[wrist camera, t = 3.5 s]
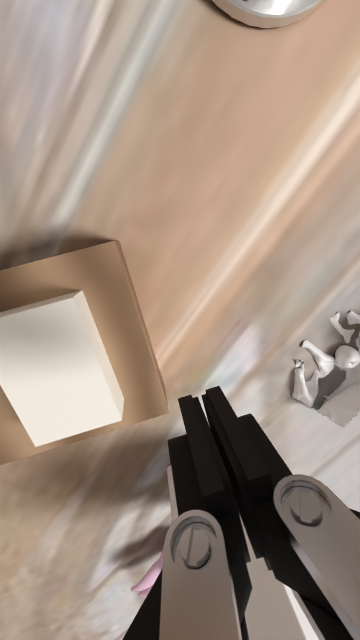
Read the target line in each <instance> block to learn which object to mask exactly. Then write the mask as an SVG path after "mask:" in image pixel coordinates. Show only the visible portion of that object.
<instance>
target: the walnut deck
mask: <svg viewBox="0 0 360 640" xmlns="http://www.w3.org/2000/svg"><path fill="white" fill-rule="evenodd" d="M81 290H82V291H83V293H84V296H85V298H86V301H87V304H88V306H89V309H90V311H91V314H92V317H93V319H94V322H95V324H96V327H97V330H98V332H99V335H100V337H101V340H102V343H103V345H104V348H105V350H106V353H107V356H108V358H109V361H110V363H111V366H112V369H113V371H114V374H115V376H116V379H117V382H118V384H119V387H120V389H121V392H122V395H123V397H124V405H123V414H122V421H119V422H115V423H112V424H109V425H105V426H102V427H99V428H96V429H92V430H89V431H86V432H83V433H79V434H76V435H73V436H70V437H66V438H63V439H60V440H57V441H53V442H50V443H47V444H44V445H40V446H37V447H35V445H34V443H33V442H32V440H31V438H30V436H29V435H28V433H27V431H26V429H25V428H24V426H23V424H22V422H21V421H20V419H19V417H18V415H17V414H16V412H15V410H14V408H13V407H12V405H11V403H10V401H9V400H8V398H7V396H6V394H5V393H4V391H3V389H2V387H1V385H0V465H2V464H5V463H9V462H12V461H15V460H18V459H22V458H25V457H28V456H31V455H35V454H38V453H41V452H44V451H47V450H51V449H54V448H57V447H60V446H64V445H67V444H70V443H73V442H77V441H80V440H83V439H86V438H89V437H93V436H96V435H99V434H102V433H106V432H109V431H112V430H115V429H119V428H122V427H125V426H128V425H132V424H135V423H138V422H141V421H144V420H148V419H151V418H154V417H157V416H161V415H164V414H167V413H169V410H168V404H167V398H166V392H165V386H164V383H163V380H162V376H161V373H160V370H159V367H158V364H157V360H156V357H155V354H154V351H153V348H152V345H151V341H150V338H149V335H148V332H147V329H146V325H145V322H144V319H143V316H142V313H141V309H140V306H139V303H138V300H137V297H136V294H135V290H134V287H133V284H132V281H131V278H130V274H129V271H128V268H127V265H126V262H125V259H124V255H123V252H122V249H121V246H120V243H119V241H111V242H107V243H103V244H99V245H96V246H92V247H88V248H84V249H80V250H76V251H72V252H69V253H65V254H61V255H57V256H53V257H49V258H46V259H42V260H38V261H34V262H30V263H26V264H23V265H19V266H15V267H11V268H7V269H3V270H0V312H3V311H7V310H10V309H14V308H18V307H21V306H25V305H29V304H33V303H36V302H40V301H44V300H47V299H51V298H55V297H58V296H62V295H66V294H69V293H73V292H77V291H81Z"/></svg>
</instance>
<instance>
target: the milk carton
mask: <svg viewBox="0 0 360 640" xmlns="http://www.w3.org/2000/svg"><path fill="white" fill-rule="evenodd" d="M167 476H168V485H169V494H170V503H171V512H172V521H173V522H174V520H175V519H176V518H177V517H178V510H177V503H176V496H175V489H174V482H173V475H172V468H171V465H170V466H168V467H167ZM239 515H240V514H239ZM240 519H241V517H240ZM241 523H242V527H243V531H244V535H245V539H246V543H247V547H248V551H249V555H250V559H251V562H248V563H246V565H247V569H248V572H249V576H250V580H251V584H252V591H251V594H250V598H249V601H248V604H247V607H246V611H245V613H246V616H247V622H248V627H249V633H250V638H251V640H319V639H318V637H317V635H316V633H315V632H314V630H313V628H312V626H311V625H310V623H309V621H308V619H307V618H306V616H305V614H304V612H303V611H302V609H301V607H300V605H299V604H298V602H297V600H296V598H295V597H294V595H293V592H292V590H291V588H289V587H288V586H286V585H285V584H283V583H281V582H280V581H278V580H277V579H276V578H275V576H274V574H273V571H272V570H270V571H268V568H267V566H266V563H265V561H264V558H263V557H262V558H259V559H256V557H255V554H254V552H253V549H252V546H251V544H250V541H249V538H248V536H247V533H246V530H245V528H244V525H243V522H242V520H241Z"/></svg>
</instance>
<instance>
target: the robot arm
mask: <svg viewBox="0 0 360 640" xmlns="http://www.w3.org/2000/svg"><path fill="white" fill-rule="evenodd" d="M212 1H213V2H214V3H215V4H216V5H217V6H218V7H219V8H220V9H222V10H223V11H224V12H226V13H227V14H228V15H230V16H231V17H232V18H234V19H236V20H239V21H241V22H243V23H245V24H247V25H250V26H256V27H261V28H275V27H283V26H286V25H289V24H292V23H295V22H297V21H299V20H301V19H302V18H304V17H305V16H307V15H309V14H310V13H312V12H313V11H314V10H315V9H316V8H317V7H318V6H319V5H320V4H321V3H322V2H323V1H324V0H212ZM202 400H203V403H204V407H205V411H206V415H207V419H208V422H209V425H208V422H207V420H206V417H205V414H204V412H203V409H202V407H201V404H200V402H199V399H198V397H195V398H192V396H191V395H188V396H185V397H182V398H179V399H178V401H179V405H180V409H181V413H182V417H183V421H184V425H185V429H186V433H187V434H186V435H183V436H180V437H177V438H174V439H170V440H168V447H169V454H170V461H171V468H172V475H173V482H174V489H175V496H176V503H177V510H178V517H177V518H176V519H175V520H174V522H173V523H172V524H171V525H170V527H169V529H168V532H167V534H166V536H165V542H164V549H163V568H162V570H161V572H160V574H159V575H158V577H157V579H156V581H155V582H154V584H153V586H152V588H151V590H150V591H149V593H148V595H147V597H146V599H145V600H144V602H143V604H142V606H141V608H140V609H139V611H138V613H137V615H136V616H135V618H134V620H133V622H132V624H131V625H130V627H129V629H128V631H127V633H126V634H125V636H124V638H123V640H251V638H250V633H249V627H248V622H247V616H246V613H245V611H246V607H247V604H248V601H249V598H250V594H251V591H252V584H251V580H250V576H249V572H248V569H247V565H246V563H248V562H251V559H250V555H249V551H248V547H247V543H246V539H245V535H244V531H243V527H242V523H241V520H242V522H243V525H244V528H245V530H246V533H247V536H248V538H249V541H250V544H251V546H252V549H253V552H254V554H255V557H256V559H259V558H262V557H263V558H264V561H265V563H266V566H267V568H268V571H270V570H272V571H273V574H274V576H275V578H276V579H277V580H278V581H280V582H281V583H283V584H285V585H286V586H288V587H289V588H291V590H292V592H293V595H294V597H295V598H296V600H297V602H298V604H299V605H300V607H301V609H302V611H303V612H304V614H305V616H306V618H307V619H308V621H309V623H310V625H311V626H312V628H313V630H314V632H315V633H316V635H317V637H318V639H319V640H360V512H357V511H354V510H352V509H349V508H348V507H347V506H346V505H345V504H344V503H343V502H342V501H341V500H340V499H339V498H338V497H337V496H336V495H335V494H334V493H333V492H332V491H331V490H330V489H329V488H328V487H327V486H325V485H324V484H323V483H322V482H320V481H319V480H316V479H314V478H312V477H310V476H306V475H301V474H300V475H293V474H292V473H291V471H290V470H289V468H288V467H287V465H286V464H285V462H284V461H283V460H282V458H281V457H280V455H279V454H278V452H277V451H276V449H275V448H274V446H273V445H272V443H271V442H270V440H269V439H268V437H267V436H266V434H265V433H264V431H263V430H262V429H261V427H260V426H259V424H258V423H257V421H256V420H255V418H254V417H253V416H252V414H247V415H244V416H241V417H238V418H237V416H236V414H235V412H234V411H233V409H232V407H231V405H230V404H229V402H228V400H227V399H226V397H225V395H224V393H223V392H222V390H221V388H220V387H219V386H217V387H214V388H210V389H207V390H206V394H204V395H202ZM209 426H210V427H209ZM239 514H240V515H239ZM240 517H241V519H240Z"/></svg>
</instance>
